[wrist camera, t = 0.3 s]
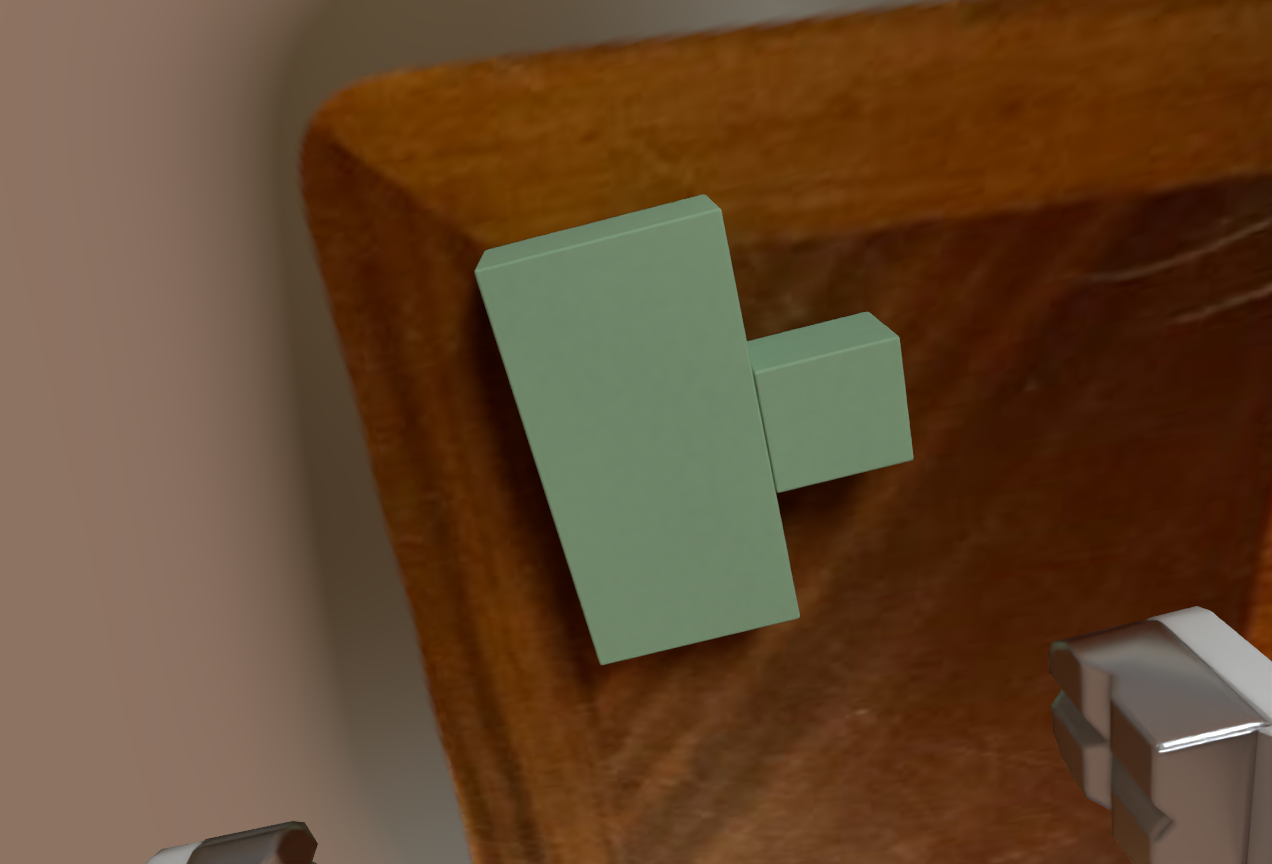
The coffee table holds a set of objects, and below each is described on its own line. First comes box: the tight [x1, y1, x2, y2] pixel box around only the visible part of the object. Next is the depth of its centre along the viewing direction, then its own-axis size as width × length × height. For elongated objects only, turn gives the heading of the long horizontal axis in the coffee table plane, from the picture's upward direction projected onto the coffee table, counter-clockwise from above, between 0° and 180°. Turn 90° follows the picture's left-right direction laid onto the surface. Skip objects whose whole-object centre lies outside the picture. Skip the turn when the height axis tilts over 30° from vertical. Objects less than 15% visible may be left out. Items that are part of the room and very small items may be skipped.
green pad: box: [474, 195, 913, 665], centre depth 23 cm, size 12×10×2 cm
